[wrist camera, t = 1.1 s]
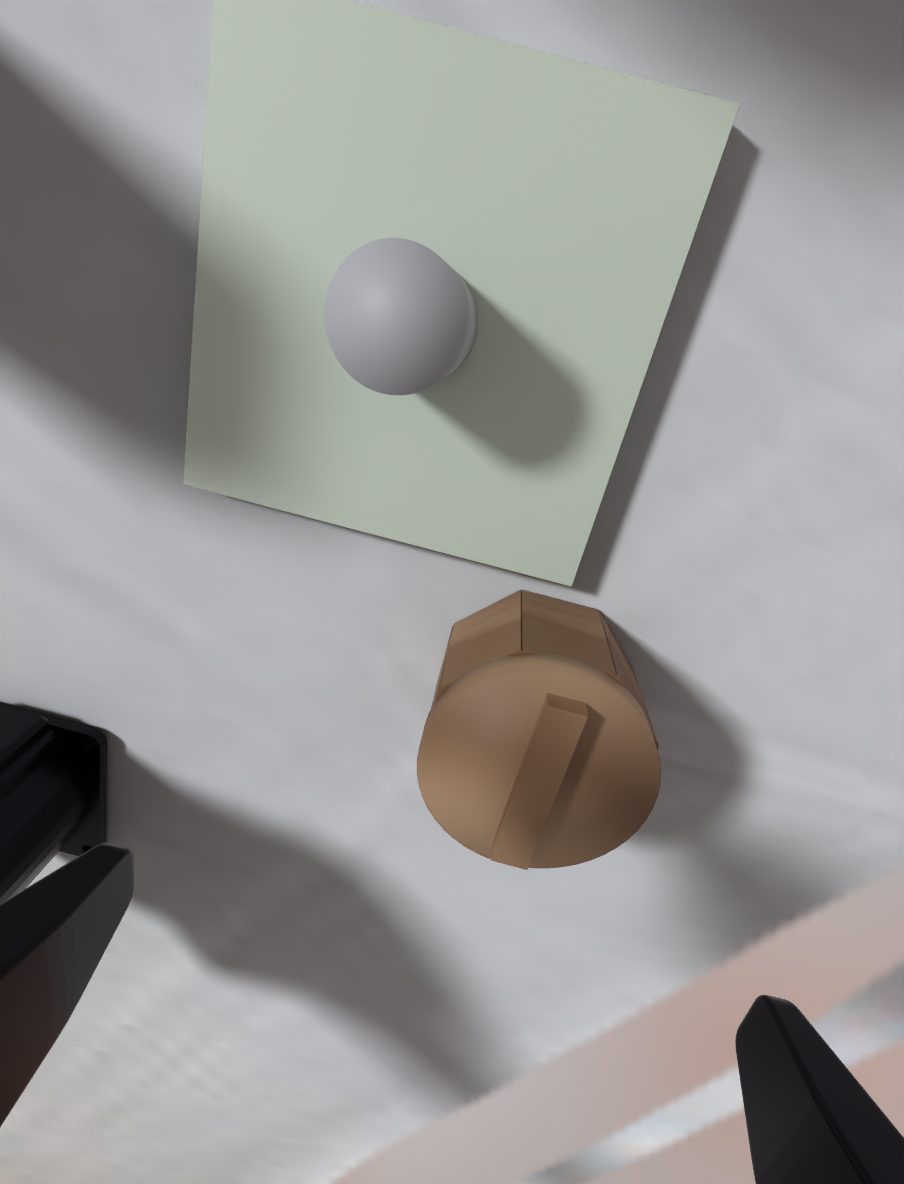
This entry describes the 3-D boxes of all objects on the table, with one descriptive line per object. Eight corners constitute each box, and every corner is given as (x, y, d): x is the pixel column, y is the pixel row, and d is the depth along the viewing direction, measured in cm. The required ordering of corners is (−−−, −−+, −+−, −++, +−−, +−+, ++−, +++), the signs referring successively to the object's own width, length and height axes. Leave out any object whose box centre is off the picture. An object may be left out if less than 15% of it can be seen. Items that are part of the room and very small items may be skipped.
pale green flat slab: (569, 574, 19) (582, 640, 15) (199, 477, 19) (112, 516, 15) (726, 117, 15) (807, 32, 10) (234, -12, 15) (121, -147, 10)
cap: (593, 776, 22) (614, 909, 17) (421, 731, 22) (391, 850, 17) (658, 622, 20) (706, 725, 15) (464, 571, 20) (444, 656, 15)
